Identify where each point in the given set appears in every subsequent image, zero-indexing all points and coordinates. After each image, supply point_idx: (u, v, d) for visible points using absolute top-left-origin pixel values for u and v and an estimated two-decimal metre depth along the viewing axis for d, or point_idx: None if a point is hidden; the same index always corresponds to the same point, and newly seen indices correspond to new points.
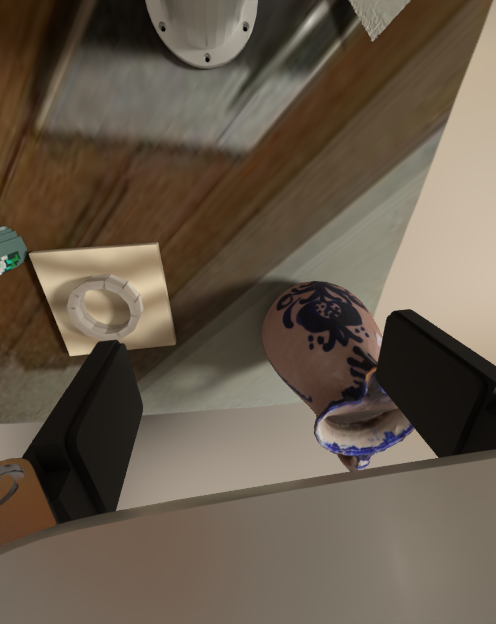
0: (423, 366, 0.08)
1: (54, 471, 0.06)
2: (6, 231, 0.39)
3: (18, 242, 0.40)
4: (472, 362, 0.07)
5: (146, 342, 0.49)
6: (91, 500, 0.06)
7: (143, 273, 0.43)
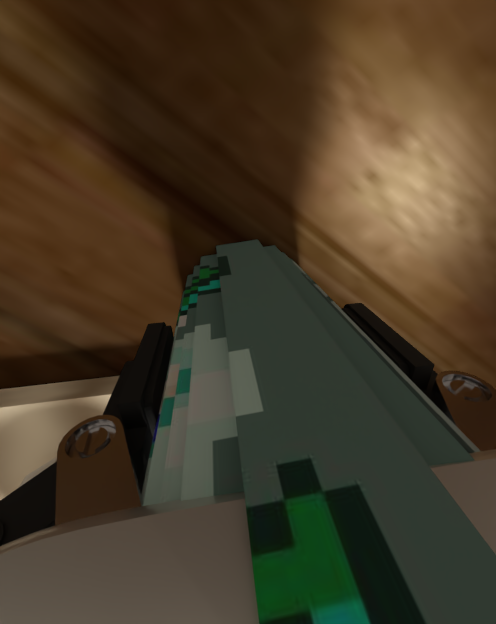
0: None
1: (134, 427, 0.06)
2: None
3: None
4: (400, 349, 0.08)
5: None
6: None
7: None
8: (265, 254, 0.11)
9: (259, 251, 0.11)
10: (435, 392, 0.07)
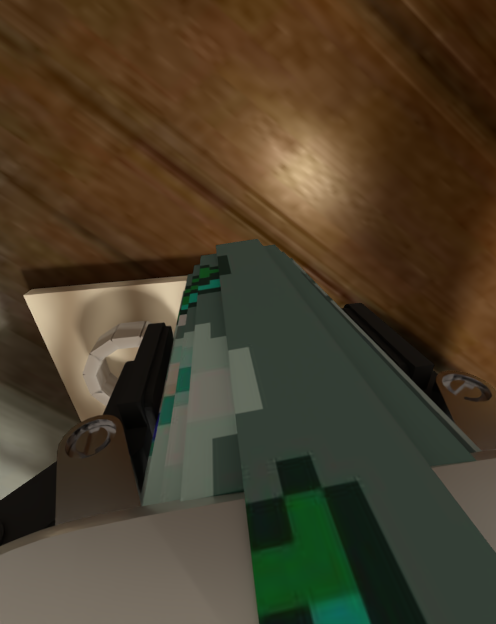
0: None
1: (134, 427, 0.06)
2: None
3: None
4: (400, 349, 0.08)
5: (79, 397, 0.32)
6: None
7: None
8: (265, 253, 0.11)
9: (259, 250, 0.12)
10: (435, 392, 0.07)
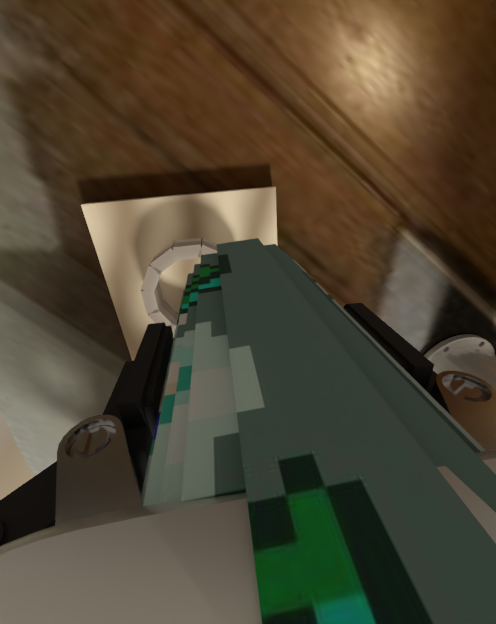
0: None
1: (134, 427, 0.06)
2: None
3: None
4: (400, 349, 0.08)
5: (130, 327, 0.31)
6: None
7: None
8: (266, 252, 0.11)
9: (260, 249, 0.11)
10: (435, 392, 0.07)
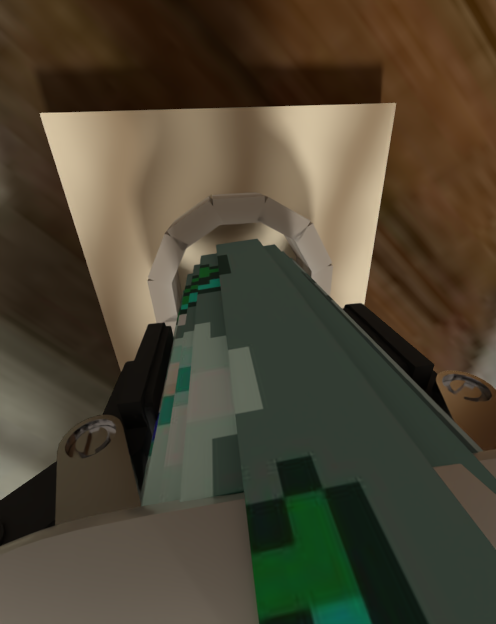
0: None
1: (134, 427, 0.06)
2: None
3: None
4: (400, 349, 0.08)
5: (127, 342, 0.19)
6: None
7: None
8: (265, 253, 0.11)
9: (259, 250, 0.11)
10: (435, 392, 0.07)
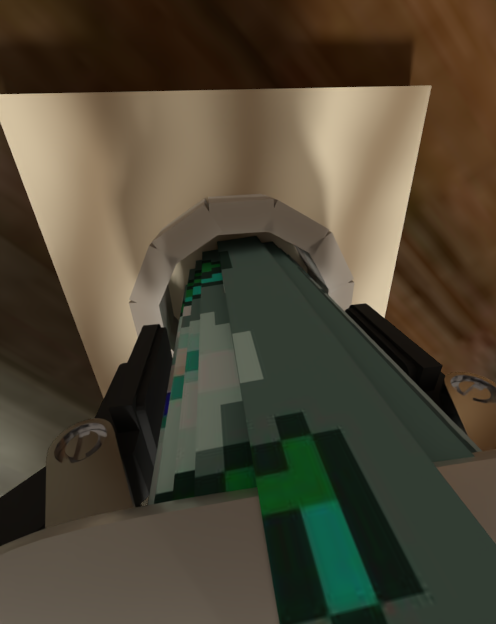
0: None
1: (126, 431, 0.06)
2: None
3: None
4: (407, 350, 0.07)
5: (110, 368, 0.17)
6: (152, 461, 0.07)
7: None
8: (264, 249, 0.12)
9: (258, 247, 0.12)
10: (443, 393, 0.07)
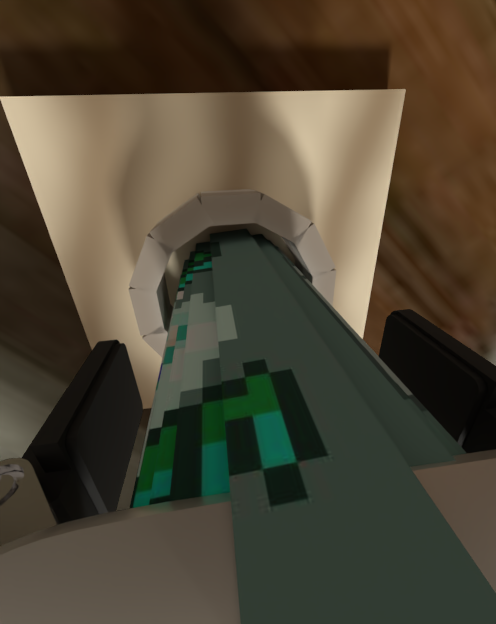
0: (423, 366, 0.08)
1: (54, 471, 0.06)
2: None
3: None
4: (472, 362, 0.07)
5: None
6: (91, 500, 0.06)
7: None
8: (251, 240, 0.13)
9: (247, 238, 0.13)
10: None
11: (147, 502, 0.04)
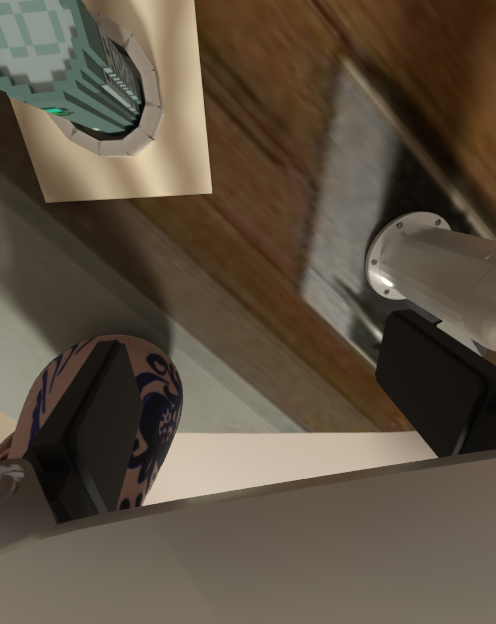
0: (423, 366, 0.08)
1: (54, 471, 0.06)
2: (137, 121, 0.27)
3: (122, 133, 0.28)
4: (472, 362, 0.07)
5: (38, 150, 0.28)
6: (91, 500, 0.06)
7: (169, 167, 0.30)
8: None
9: None
10: None
11: None
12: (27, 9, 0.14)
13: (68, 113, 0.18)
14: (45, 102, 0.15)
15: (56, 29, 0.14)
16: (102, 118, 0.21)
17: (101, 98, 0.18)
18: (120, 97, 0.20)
